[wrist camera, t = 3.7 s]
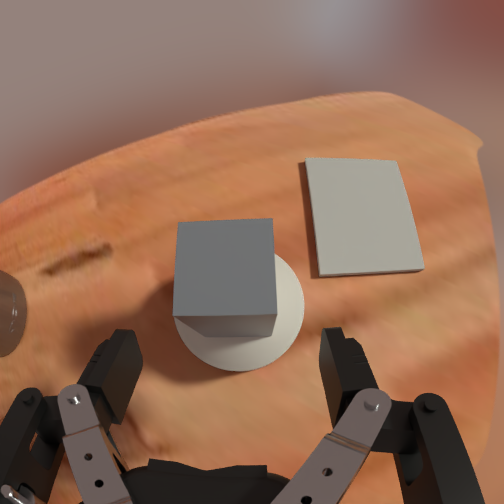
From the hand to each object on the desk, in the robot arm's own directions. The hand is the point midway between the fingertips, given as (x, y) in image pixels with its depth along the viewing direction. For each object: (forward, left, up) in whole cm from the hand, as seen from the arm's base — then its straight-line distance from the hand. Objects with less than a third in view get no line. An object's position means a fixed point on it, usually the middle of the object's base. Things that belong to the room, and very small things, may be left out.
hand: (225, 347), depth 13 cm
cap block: (0, +4, -8) cm, 8 cm away
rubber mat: (+11, +13, -12) cm, 21 cm away
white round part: (0, +4, -12) cm, 12 cm away
